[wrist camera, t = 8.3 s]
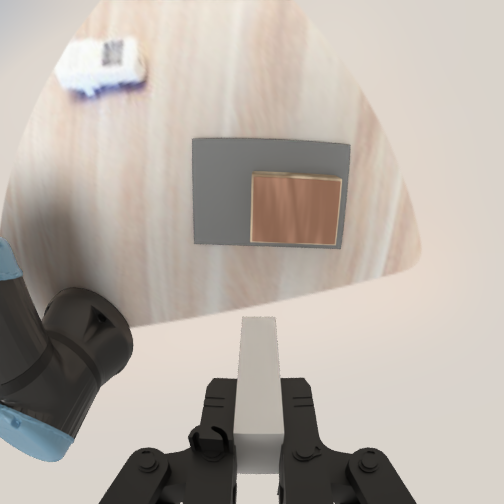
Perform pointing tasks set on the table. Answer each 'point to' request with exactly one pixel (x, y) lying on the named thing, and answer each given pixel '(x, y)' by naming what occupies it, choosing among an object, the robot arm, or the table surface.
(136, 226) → the table surface
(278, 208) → the brown wooden block
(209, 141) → the mat
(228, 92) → the table surface
